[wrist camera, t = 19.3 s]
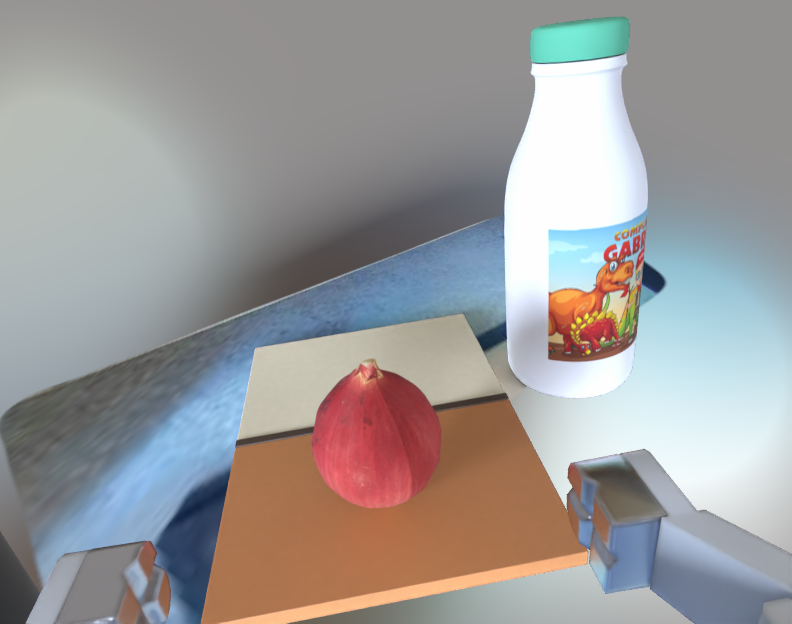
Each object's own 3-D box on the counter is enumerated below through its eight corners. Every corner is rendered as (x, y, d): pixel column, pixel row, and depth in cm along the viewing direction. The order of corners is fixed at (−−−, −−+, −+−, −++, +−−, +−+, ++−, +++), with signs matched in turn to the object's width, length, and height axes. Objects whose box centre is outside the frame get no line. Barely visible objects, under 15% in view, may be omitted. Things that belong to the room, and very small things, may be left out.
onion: (304, 526, 26) (264, 386, 22) (364, 446, 30) (340, 318, 26) (417, 566, 23) (394, 415, 19) (464, 472, 28) (453, 334, 24)
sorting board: (205, 640, 22) (198, 626, 22) (257, 356, 42) (254, 346, 41) (588, 564, 23) (588, 550, 23) (464, 321, 43) (463, 311, 42)
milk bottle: (498, 394, 34) (483, 35, 25) (517, 332, 40) (511, 26, 31) (633, 410, 31) (673, 12, 22) (632, 340, 38) (662, 8, 28)
